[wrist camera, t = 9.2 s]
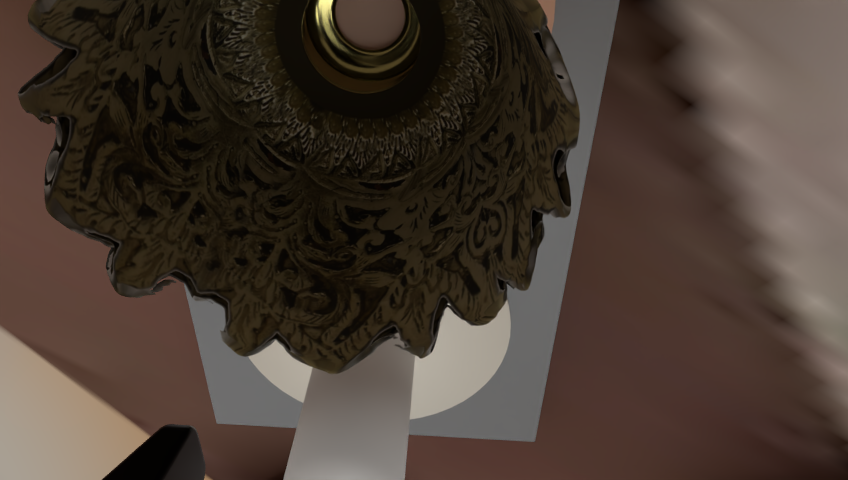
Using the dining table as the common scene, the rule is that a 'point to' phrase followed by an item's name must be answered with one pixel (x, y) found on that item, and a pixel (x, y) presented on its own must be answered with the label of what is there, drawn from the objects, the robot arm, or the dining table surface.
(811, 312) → the dining table surface
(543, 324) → the board
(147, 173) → the decorative vase
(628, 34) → the dining table surface
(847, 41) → the dining table surface
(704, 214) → the dining table surface
